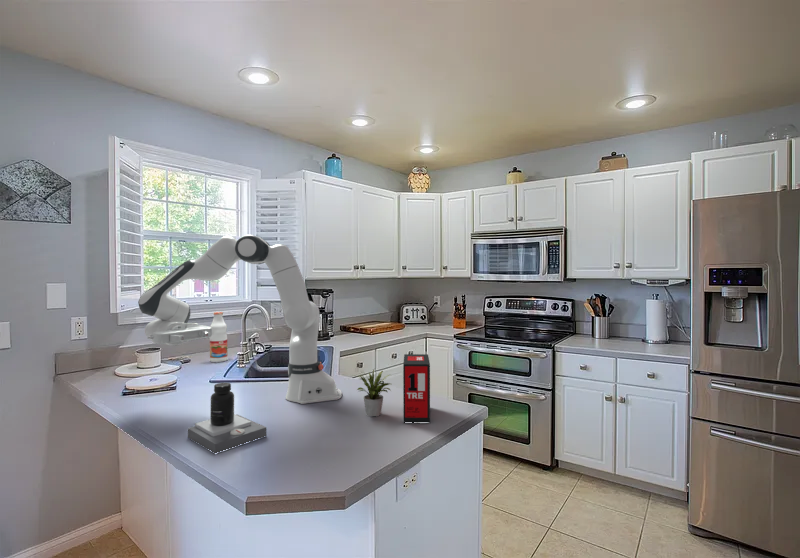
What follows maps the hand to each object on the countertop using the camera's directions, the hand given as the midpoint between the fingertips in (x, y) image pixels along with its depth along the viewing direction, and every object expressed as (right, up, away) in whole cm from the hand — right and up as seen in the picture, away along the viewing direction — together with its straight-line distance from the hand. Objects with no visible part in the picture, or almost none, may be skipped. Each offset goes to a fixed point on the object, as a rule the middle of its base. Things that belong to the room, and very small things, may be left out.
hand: (195, 336), depth 147 cm
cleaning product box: (+79, -28, -1) cm, 84 cm away
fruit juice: (-31, -27, +90) cm, 99 cm away
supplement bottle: (+18, -24, -19) cm, 36 cm away
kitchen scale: (+20, -28, -20) cm, 40 cm away
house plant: (+63, -28, -1) cm, 69 cm away
